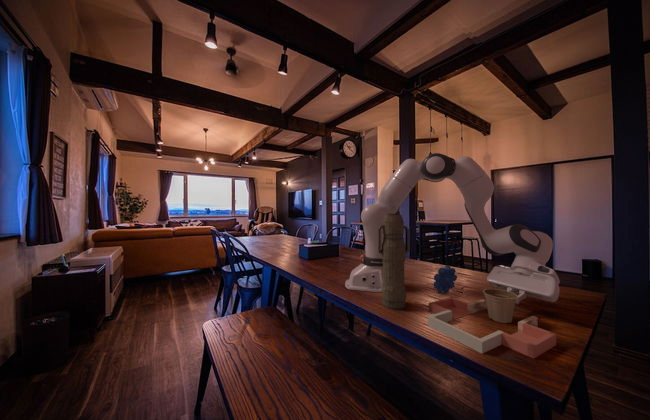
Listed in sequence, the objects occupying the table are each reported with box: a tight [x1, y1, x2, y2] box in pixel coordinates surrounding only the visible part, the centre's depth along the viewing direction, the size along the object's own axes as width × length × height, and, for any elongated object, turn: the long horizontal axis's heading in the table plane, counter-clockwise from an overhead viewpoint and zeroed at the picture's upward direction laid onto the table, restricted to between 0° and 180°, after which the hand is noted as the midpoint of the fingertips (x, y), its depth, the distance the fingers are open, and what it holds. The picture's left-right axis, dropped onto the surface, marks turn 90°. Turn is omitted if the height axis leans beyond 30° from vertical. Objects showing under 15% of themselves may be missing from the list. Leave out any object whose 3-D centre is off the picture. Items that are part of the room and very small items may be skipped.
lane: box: [467, 299, 539, 333], centre depth 79 cm, size 9×16×3 cm, turn 27°
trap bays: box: [428, 296, 557, 360], centre depth 75 cm, size 12×30×3 cm, turn 27°
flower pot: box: [482, 288, 518, 324], centre depth 79 cm, size 9×9×9 cm
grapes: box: [432, 264, 458, 294], centre depth 105 cm, size 12×7×12 cm, turn 104°
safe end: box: [427, 310, 504, 354], centre depth 70 cm, size 10×16×3 cm, turn 27°
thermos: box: [377, 213, 410, 310], centre depth 91 cm, size 9×12×35 cm
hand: (512, 301), depth 83 cm, fingers closed
